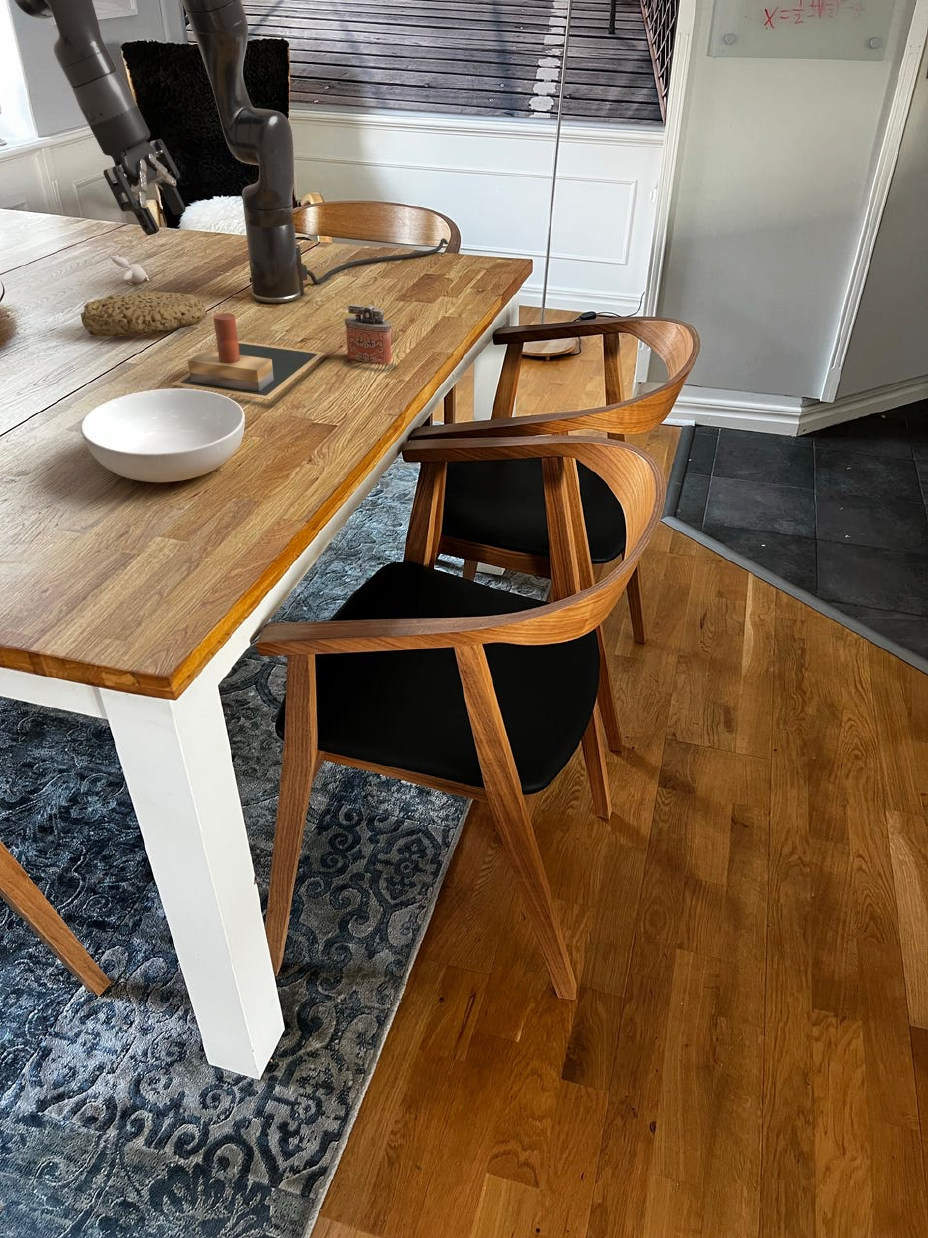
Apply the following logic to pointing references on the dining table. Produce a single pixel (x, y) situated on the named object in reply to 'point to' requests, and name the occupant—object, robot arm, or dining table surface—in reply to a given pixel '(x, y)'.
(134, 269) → the rabbit figurine
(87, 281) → the dining table surface
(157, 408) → the serving bowl
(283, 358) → the board
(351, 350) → the lighter
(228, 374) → the eraser
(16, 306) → the dining table surface
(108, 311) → the sponge
